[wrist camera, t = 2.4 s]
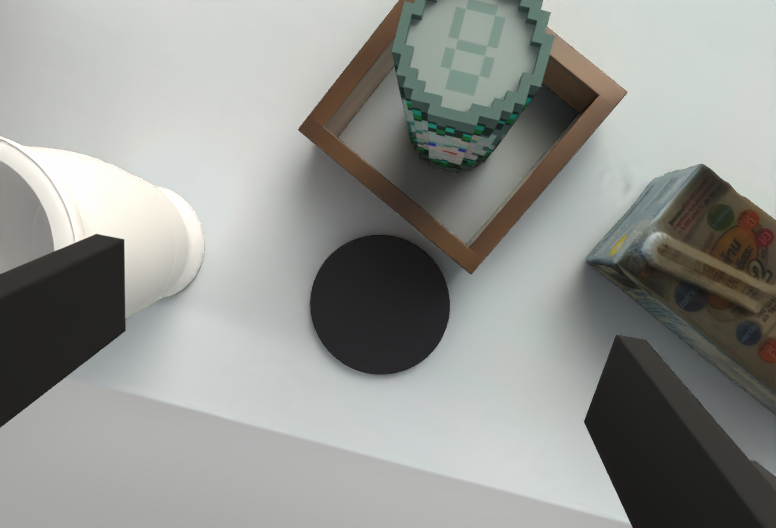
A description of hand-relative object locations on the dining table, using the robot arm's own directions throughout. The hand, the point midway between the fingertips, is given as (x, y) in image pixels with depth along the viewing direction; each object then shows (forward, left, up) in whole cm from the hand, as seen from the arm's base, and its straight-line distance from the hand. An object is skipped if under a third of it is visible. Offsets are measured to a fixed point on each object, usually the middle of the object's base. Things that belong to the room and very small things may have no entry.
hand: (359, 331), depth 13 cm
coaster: (0, -3, -22) cm, 23 cm away
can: (-4, +10, -23) cm, 25 cm away
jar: (-16, -10, -23) cm, 29 cm away
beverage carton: (+18, +12, -23) cm, 32 cm away
